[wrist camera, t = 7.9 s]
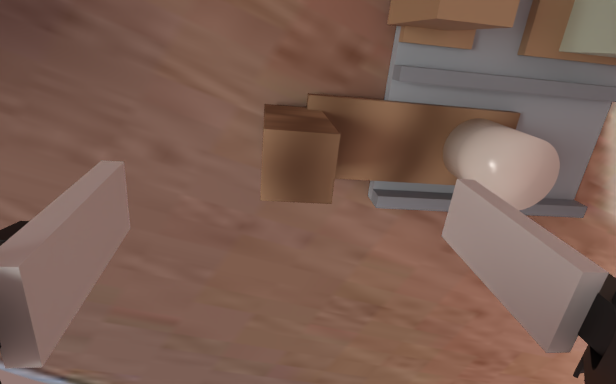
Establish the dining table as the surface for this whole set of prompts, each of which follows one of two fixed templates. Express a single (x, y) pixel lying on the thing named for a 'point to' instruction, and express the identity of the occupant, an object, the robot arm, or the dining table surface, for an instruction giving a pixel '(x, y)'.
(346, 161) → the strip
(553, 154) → the cream rounded capsule
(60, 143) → the dining table surface
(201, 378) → the dining table surface
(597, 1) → the sage block
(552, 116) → the lane board
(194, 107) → the dining table surface
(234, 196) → the dining table surface
